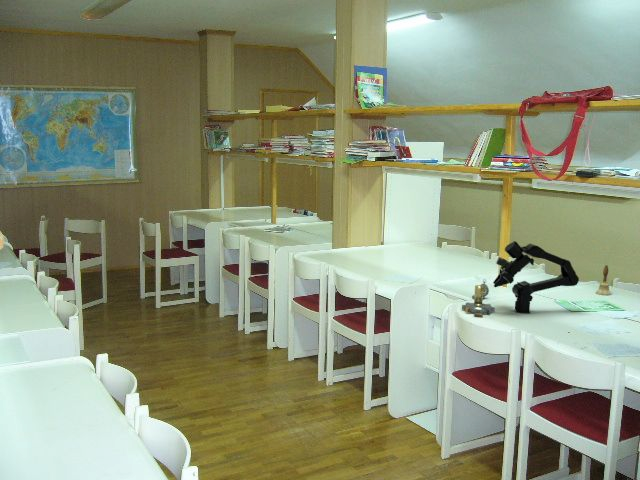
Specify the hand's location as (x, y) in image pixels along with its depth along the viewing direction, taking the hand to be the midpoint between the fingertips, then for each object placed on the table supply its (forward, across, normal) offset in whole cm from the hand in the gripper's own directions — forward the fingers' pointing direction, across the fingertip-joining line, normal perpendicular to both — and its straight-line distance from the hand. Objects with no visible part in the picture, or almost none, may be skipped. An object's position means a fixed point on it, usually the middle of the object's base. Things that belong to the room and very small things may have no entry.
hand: (493, 285), depth 331 cm
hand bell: (-34, -53, +52) cm, 82 cm away
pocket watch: (+13, -22, +5) cm, 26 cm away
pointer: (+14, +16, +4) cm, 21 cm away
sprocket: (+14, +5, +4) cm, 15 cm away
